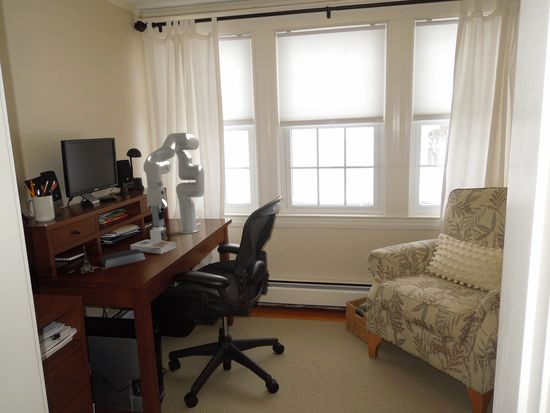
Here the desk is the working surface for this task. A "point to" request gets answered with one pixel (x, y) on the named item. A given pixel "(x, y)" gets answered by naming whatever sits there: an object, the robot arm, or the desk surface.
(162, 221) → the peg
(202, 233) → the desk surface
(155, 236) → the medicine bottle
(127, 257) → the external hard drive
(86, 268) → the eiffel tower figurine
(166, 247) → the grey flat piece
